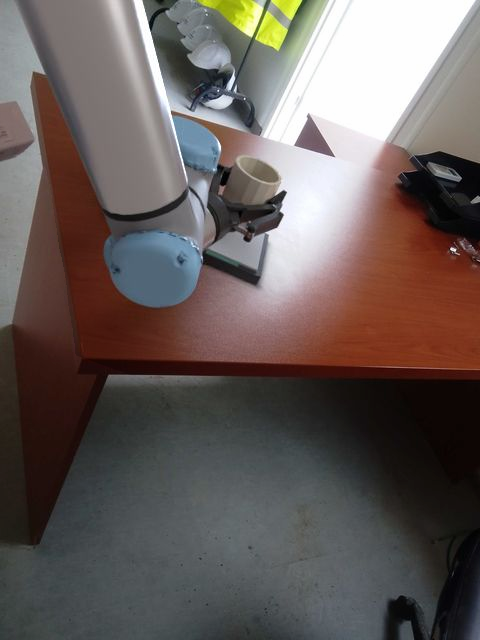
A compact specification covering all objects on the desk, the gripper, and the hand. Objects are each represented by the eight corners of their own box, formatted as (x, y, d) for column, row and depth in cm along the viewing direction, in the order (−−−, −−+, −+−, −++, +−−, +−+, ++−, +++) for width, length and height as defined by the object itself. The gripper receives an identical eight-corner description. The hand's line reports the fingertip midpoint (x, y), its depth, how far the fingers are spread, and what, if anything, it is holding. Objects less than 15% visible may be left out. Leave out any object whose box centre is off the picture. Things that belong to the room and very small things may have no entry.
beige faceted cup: (211, 221, 78) (232, 168, 71) (220, 199, 84) (239, 149, 77) (255, 240, 79) (279, 191, 73) (260, 218, 85) (283, 170, 79)
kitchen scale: (177, 251, 79) (181, 240, 77) (195, 211, 90) (199, 200, 88) (256, 285, 82) (261, 275, 80) (265, 242, 93) (270, 232, 91)
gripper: (129, 205, 67) (206, 169, 84) (245, 285, 66) (300, 233, 83) (140, 158, 62) (220, 131, 79) (266, 244, 61) (320, 198, 78)
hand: (261, 183), depth 81 cm, fingers closed on beige faceted cup, 8 cm apart
